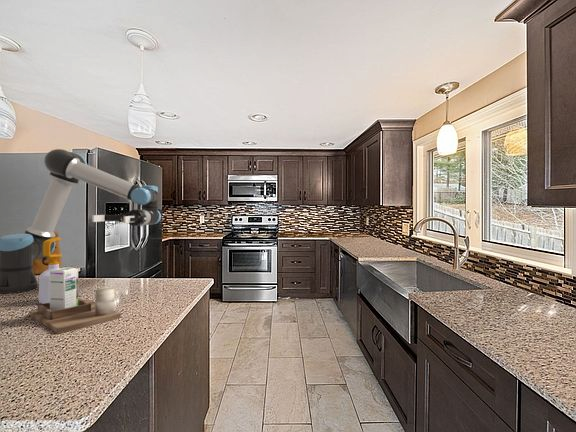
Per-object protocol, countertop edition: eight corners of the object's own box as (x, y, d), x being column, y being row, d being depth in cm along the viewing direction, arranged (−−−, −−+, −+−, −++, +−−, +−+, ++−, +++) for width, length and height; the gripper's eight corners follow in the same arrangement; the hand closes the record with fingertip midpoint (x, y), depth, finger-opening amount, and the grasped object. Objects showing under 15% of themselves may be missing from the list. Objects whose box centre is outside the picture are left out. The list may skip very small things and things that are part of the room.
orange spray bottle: (61, 273, 172) (62, 232, 171) (32, 276, 164) (32, 233, 163) (60, 270, 179) (60, 231, 179) (31, 272, 171) (32, 231, 171)
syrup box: (64, 315, 104) (64, 270, 104) (48, 313, 105) (49, 269, 105) (78, 309, 110) (79, 267, 110) (63, 308, 111) (64, 266, 111)
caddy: (29, 315, 108) (29, 287, 107) (87, 303, 122) (87, 278, 122) (58, 334, 93) (58, 301, 93) (120, 317, 108) (121, 289, 107)
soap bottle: (72, 299, 126) (73, 237, 126) (47, 305, 118) (48, 239, 117) (59, 296, 130) (59, 236, 129) (33, 302, 122) (34, 237, 121)
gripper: (163, 226, 149) (137, 229, 128) (113, 224, 152) (79, 227, 131) (163, 210, 149) (138, 210, 128) (113, 208, 151) (80, 208, 130)
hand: (108, 219), depth 129 cm, fingers open, 13 cm apart
